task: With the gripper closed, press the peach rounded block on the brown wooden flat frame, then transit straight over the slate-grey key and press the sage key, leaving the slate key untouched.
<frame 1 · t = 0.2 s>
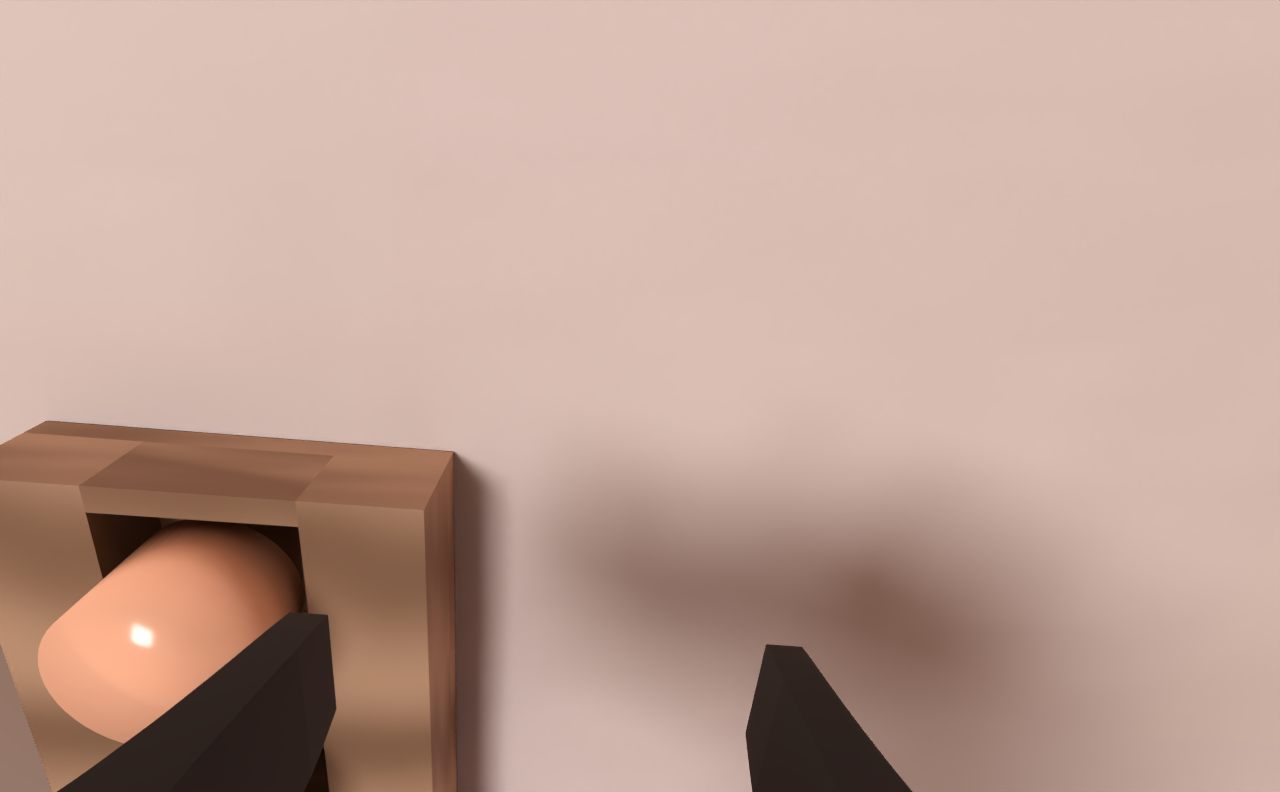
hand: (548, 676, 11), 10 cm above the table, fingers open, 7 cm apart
peach rounded block: (185, 628, 18), point 4 cm above the table, slide at 0.0 cm
brown wooden flat frame: (286, 673, 24), on the table
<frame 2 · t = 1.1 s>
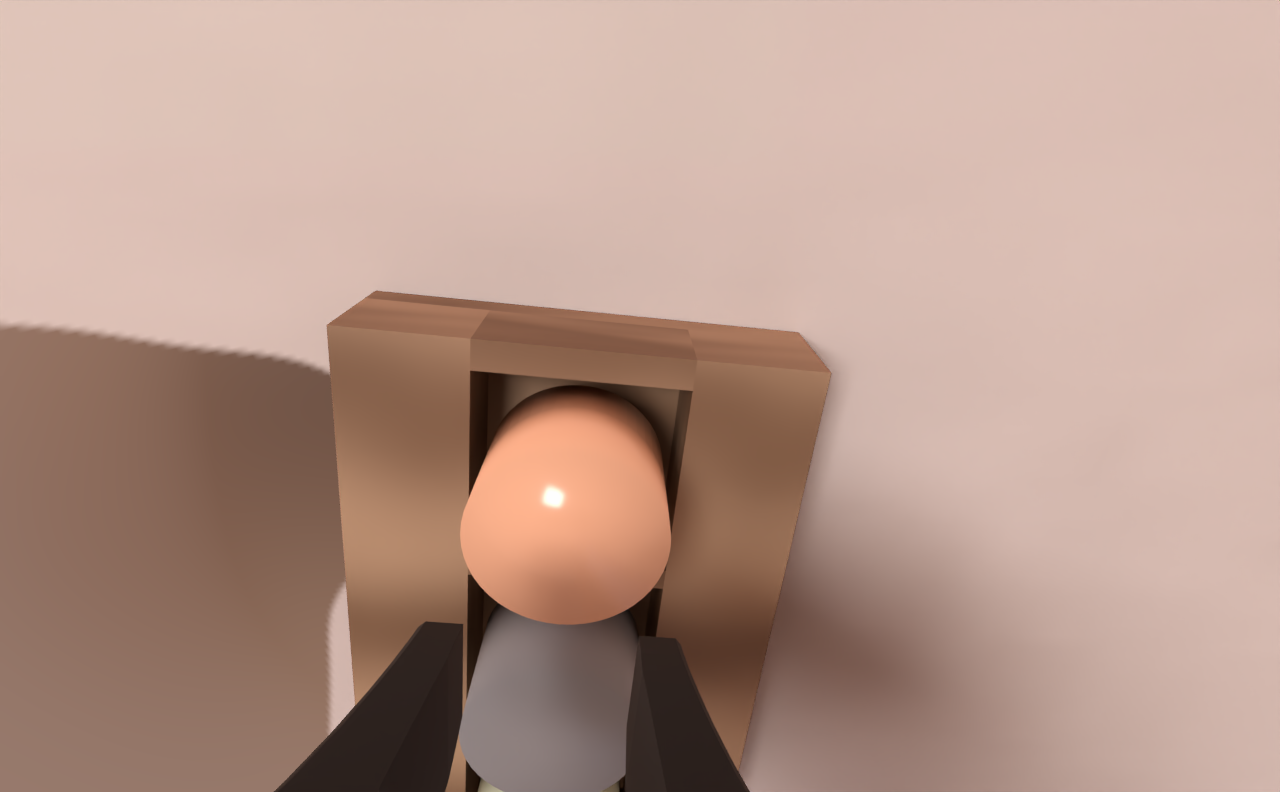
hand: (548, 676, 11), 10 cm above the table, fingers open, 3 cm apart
peach rounded block: (571, 499, 16), point 4 cm above the table, slide at 0.0 cm
key slate: (557, 684, 18), point 4 cm above the table, slide at 0.0 cm
brown wooden flat frame: (568, 583, 22), on the table
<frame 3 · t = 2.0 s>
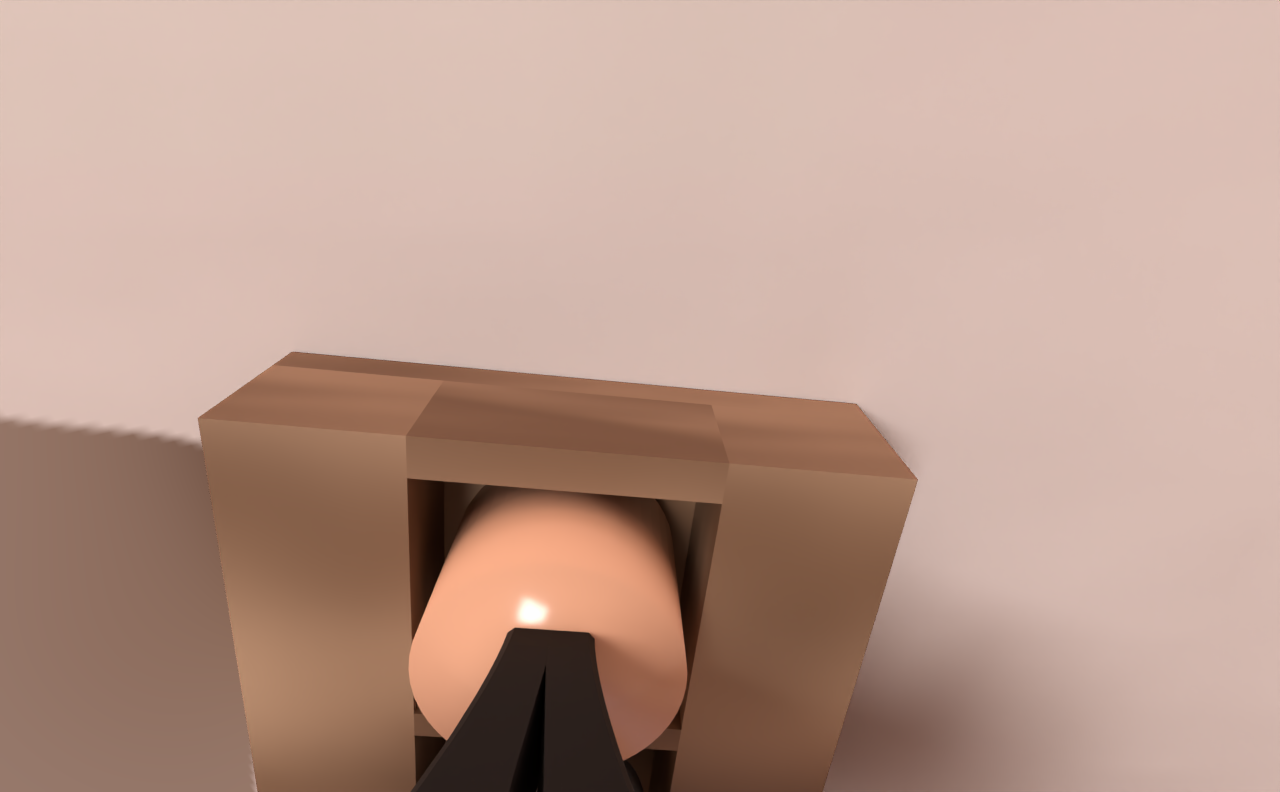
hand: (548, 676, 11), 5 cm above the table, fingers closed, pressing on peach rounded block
peach rounded block: (558, 607, 13), point 3 cm above the table, slide at 1.3 cm, touching gripper
brown wooden flat frame: (555, 708, 18), on the table
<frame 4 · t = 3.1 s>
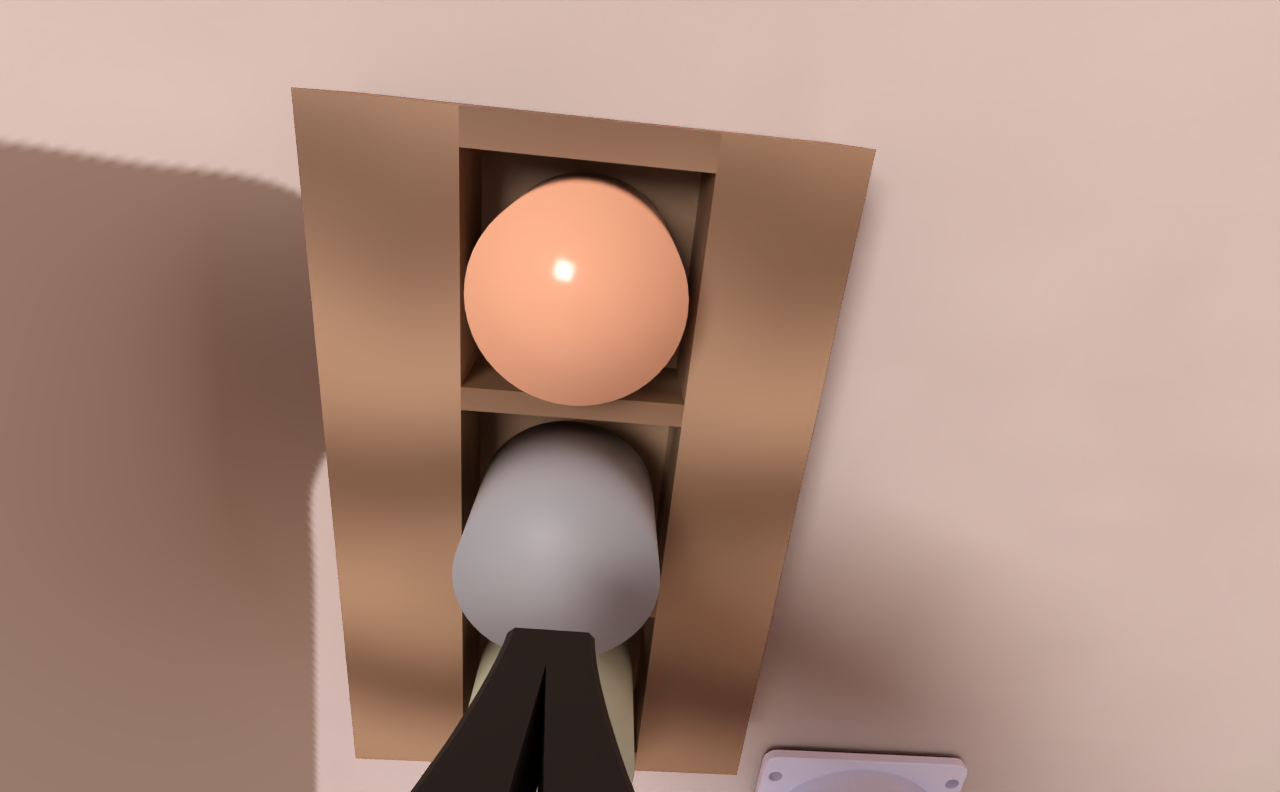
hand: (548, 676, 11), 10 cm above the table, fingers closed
peach rounded block: (581, 283, 15), point 3 cm above the table, slide at 1.3 cm
key sage: (551, 713, 19), point 4 cm above the table, slide at 0.0 cm
key slate: (563, 535, 16), point 4 cm above the table, slide at 0.0 cm
brown wooden flat frame: (574, 452, 20), on the table
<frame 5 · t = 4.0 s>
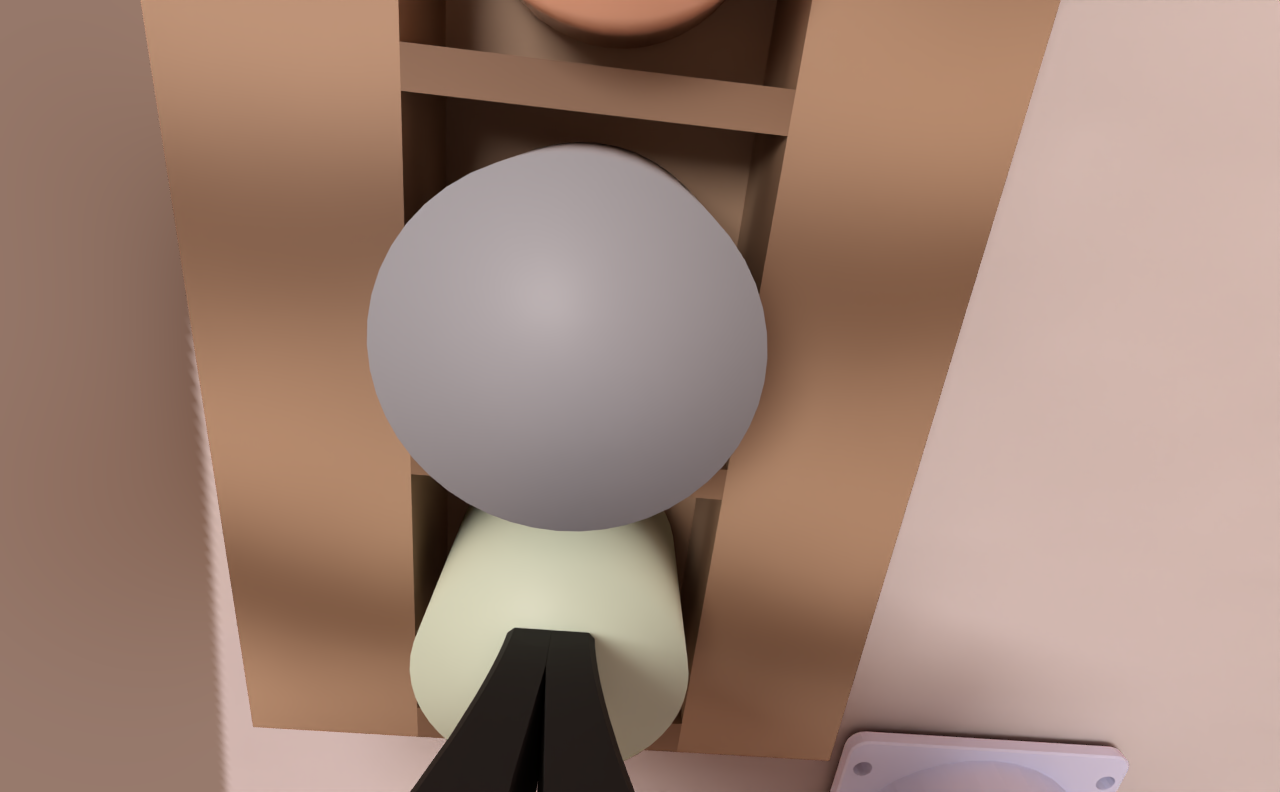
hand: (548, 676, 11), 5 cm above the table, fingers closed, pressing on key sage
key sage: (559, 607, 13), point 3 cm above the table, slide at 1.2 cm, touching gripper
key slate: (578, 321, 9), point 4 cm above the table, slide at 0.0 cm
brown wooden flat frame: (592, 260, 13), on the table
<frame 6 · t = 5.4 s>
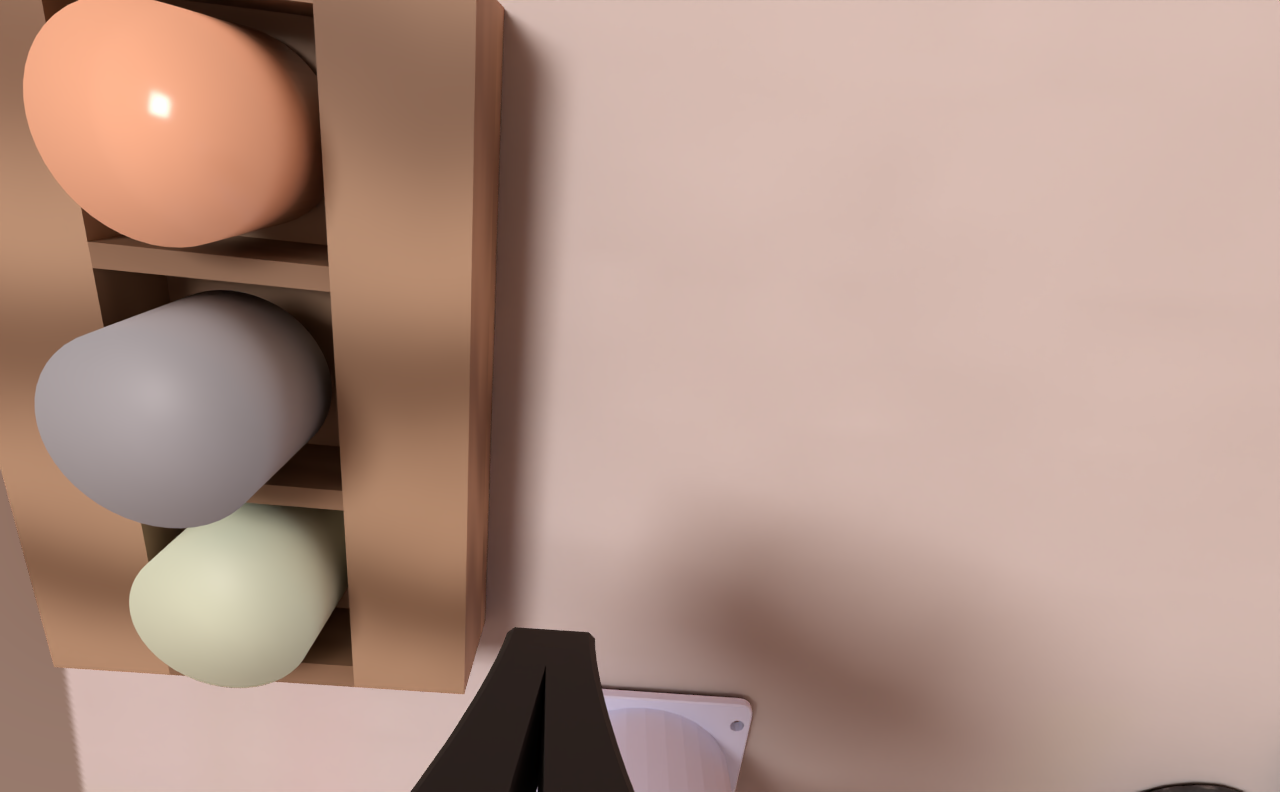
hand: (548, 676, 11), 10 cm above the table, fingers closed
peach rounded block: (201, 129, 15), point 3 cm above the table, slide at 1.3 cm
key sage: (256, 578, 19), point 3 cm above the table, slide at 1.3 cm
key slate: (201, 403, 16), point 4 cm above the table, slide at 0.0 cm
brown wooden flat frame: (288, 347, 20), on the table
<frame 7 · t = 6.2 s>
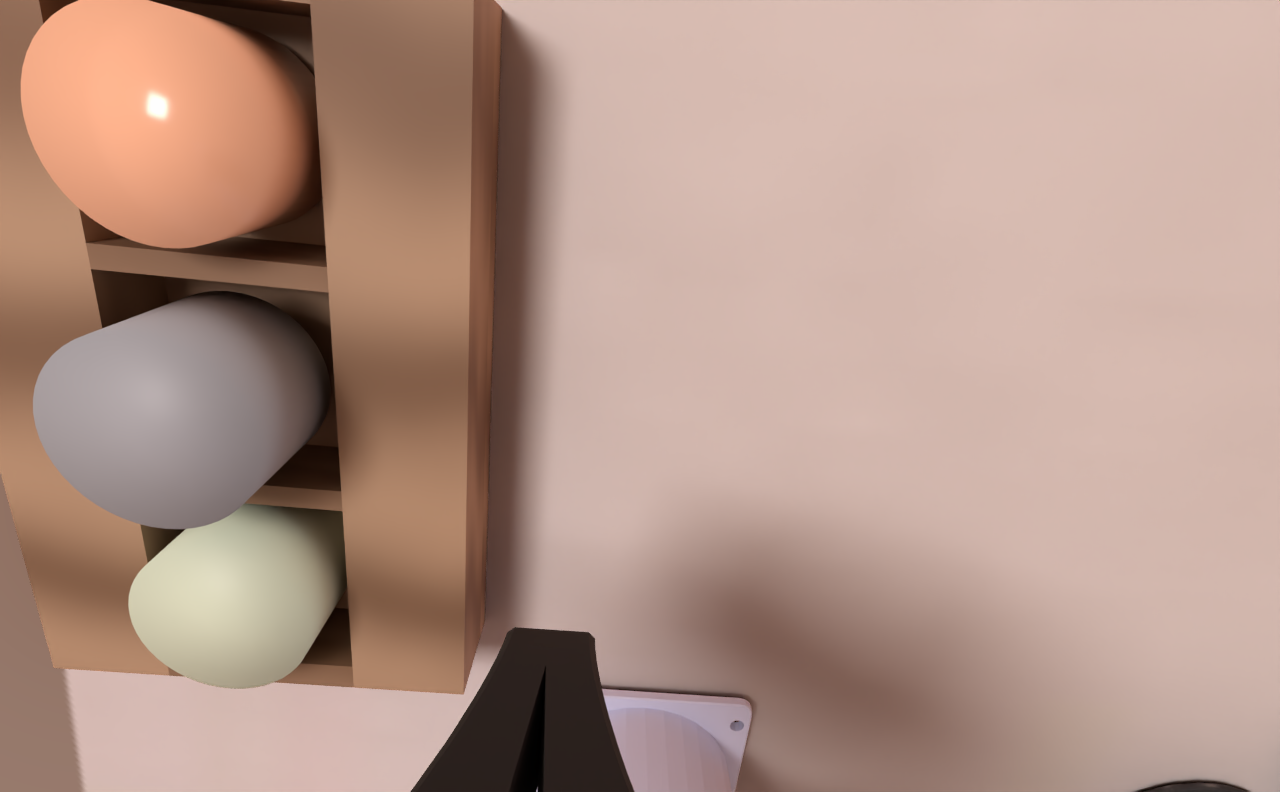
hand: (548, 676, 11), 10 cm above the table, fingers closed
peach rounded block: (199, 130, 15), point 3 cm above the table, slide at 1.3 cm
key sage: (255, 579, 19), point 3 cm above the table, slide at 1.3 cm
key slate: (199, 403, 16), point 4 cm above the table, slide at 0.0 cm
brown wooden flat frame: (287, 348, 20), on the table
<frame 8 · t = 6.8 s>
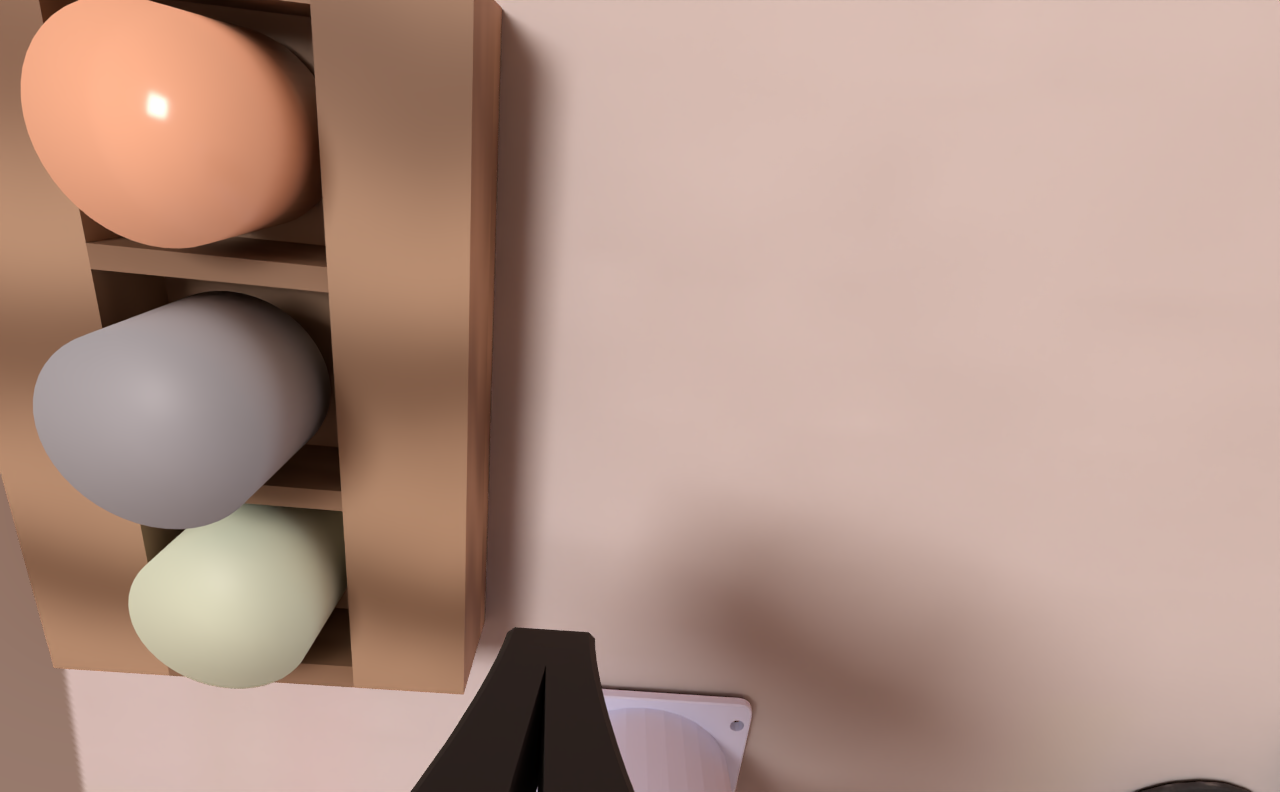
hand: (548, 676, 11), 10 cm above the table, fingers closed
peach rounded block: (199, 130, 15), point 3 cm above the table, slide at 1.3 cm
key sage: (255, 579, 19), point 3 cm above the table, slide at 1.3 cm
key slate: (199, 403, 16), point 4 cm above the table, slide at 0.0 cm
brown wooden flat frame: (287, 348, 20), on the table
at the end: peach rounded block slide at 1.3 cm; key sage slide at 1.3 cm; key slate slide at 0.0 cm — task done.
